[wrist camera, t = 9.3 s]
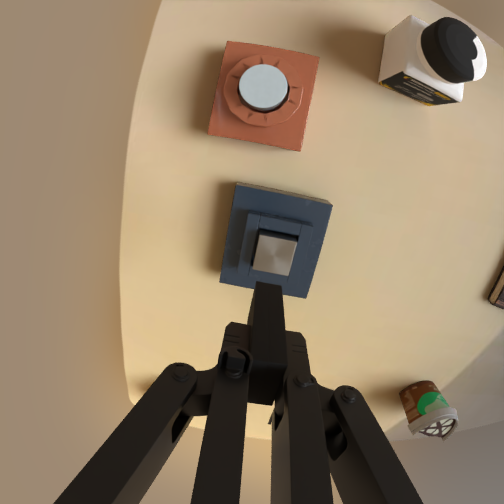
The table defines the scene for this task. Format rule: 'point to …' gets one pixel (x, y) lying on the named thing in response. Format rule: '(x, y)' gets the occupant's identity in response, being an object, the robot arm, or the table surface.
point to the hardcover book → (498, 292)
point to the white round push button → (263, 87)
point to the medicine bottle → (431, 60)
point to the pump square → (274, 252)
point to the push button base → (279, 221)
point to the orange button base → (257, 121)
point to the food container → (428, 410)
